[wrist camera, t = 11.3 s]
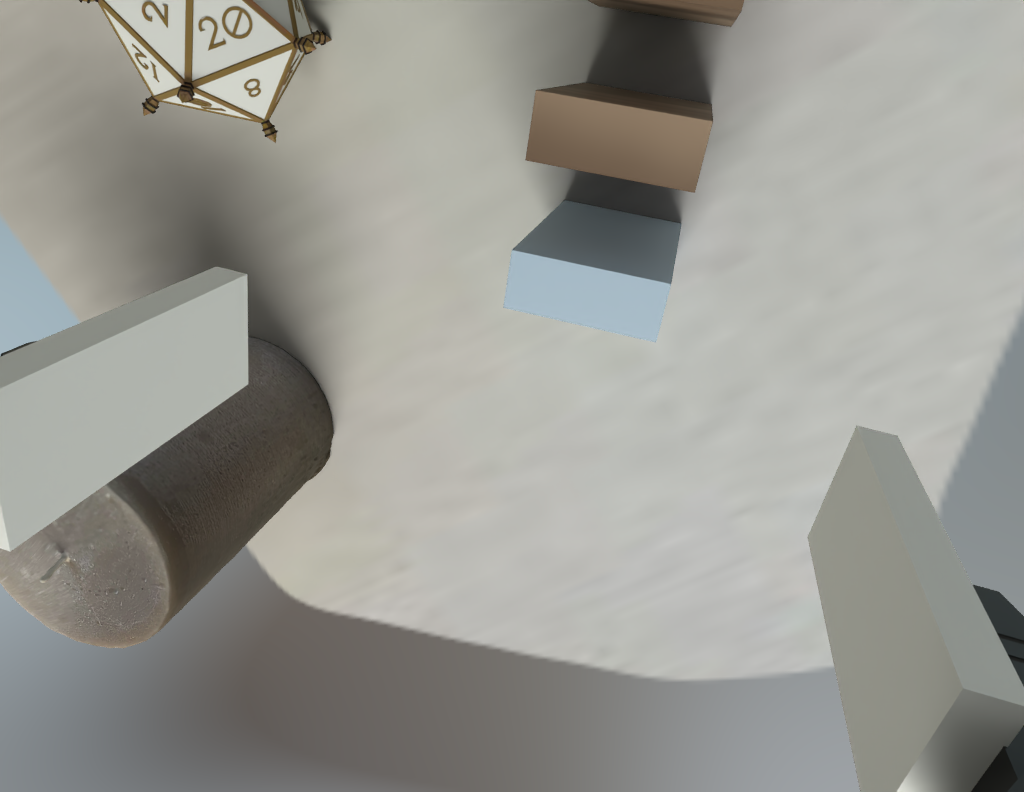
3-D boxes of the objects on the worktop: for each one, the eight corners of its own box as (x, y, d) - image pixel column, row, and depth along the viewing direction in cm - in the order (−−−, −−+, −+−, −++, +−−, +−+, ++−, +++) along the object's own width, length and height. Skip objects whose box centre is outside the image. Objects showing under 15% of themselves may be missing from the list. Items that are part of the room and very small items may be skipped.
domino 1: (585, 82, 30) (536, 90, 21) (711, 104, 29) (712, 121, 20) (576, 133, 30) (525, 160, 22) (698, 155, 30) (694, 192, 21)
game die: (317, -19, 34) (302, -196, 24) (349, 158, 34) (346, 53, 24) (113, -9, 32) (7, -197, 22) (147, 178, 32) (56, 73, 22)
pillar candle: (357, 479, 41) (189, 672, 28) (218, 494, 44) (8, 675, 31) (299, 318, 38) (77, 450, 24) (153, 346, 41) (-114, 478, 27)
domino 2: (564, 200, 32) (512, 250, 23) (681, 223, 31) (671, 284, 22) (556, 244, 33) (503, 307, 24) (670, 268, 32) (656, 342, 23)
